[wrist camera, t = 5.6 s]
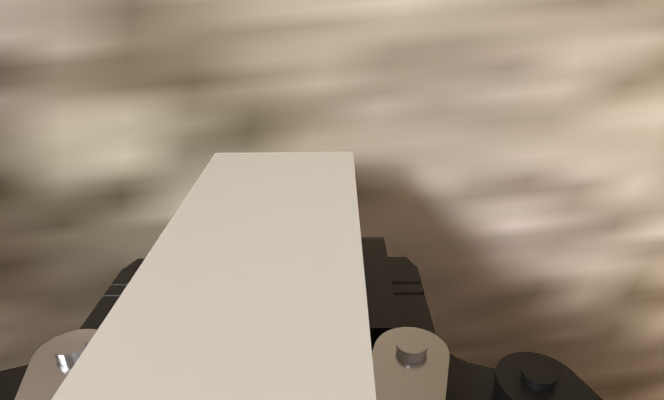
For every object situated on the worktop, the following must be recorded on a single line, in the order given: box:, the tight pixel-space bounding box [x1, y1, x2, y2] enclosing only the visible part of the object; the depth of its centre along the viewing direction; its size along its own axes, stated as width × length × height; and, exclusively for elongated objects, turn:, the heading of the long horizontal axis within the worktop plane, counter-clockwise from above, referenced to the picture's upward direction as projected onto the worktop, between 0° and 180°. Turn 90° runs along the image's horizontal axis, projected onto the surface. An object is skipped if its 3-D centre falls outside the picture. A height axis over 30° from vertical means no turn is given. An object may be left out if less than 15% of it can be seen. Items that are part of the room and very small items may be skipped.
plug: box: [51, 152, 376, 400], centre depth 10 cm, size 4×4×12 cm
